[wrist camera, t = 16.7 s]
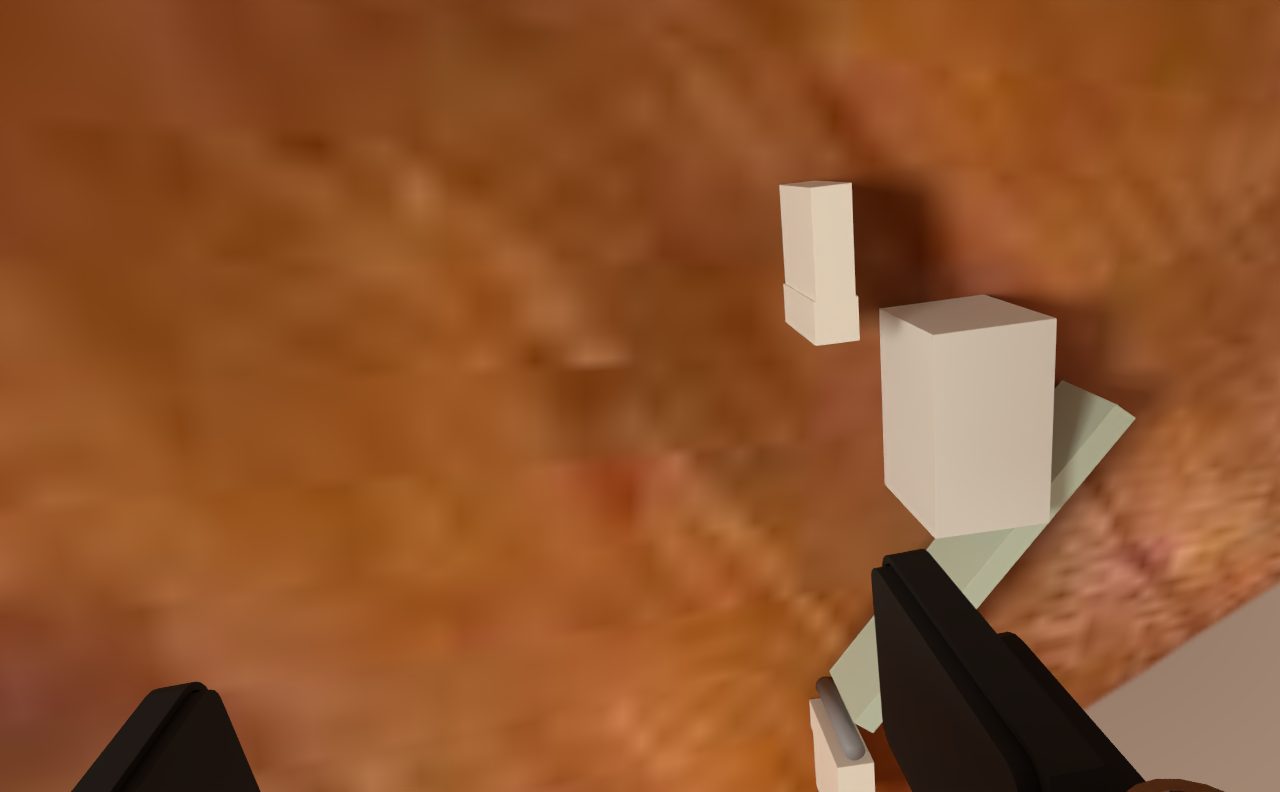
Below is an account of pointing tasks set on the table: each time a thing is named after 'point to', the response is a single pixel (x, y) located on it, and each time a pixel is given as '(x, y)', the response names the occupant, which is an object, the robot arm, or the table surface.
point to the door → (978, 556)
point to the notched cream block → (822, 316)
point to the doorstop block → (968, 412)
